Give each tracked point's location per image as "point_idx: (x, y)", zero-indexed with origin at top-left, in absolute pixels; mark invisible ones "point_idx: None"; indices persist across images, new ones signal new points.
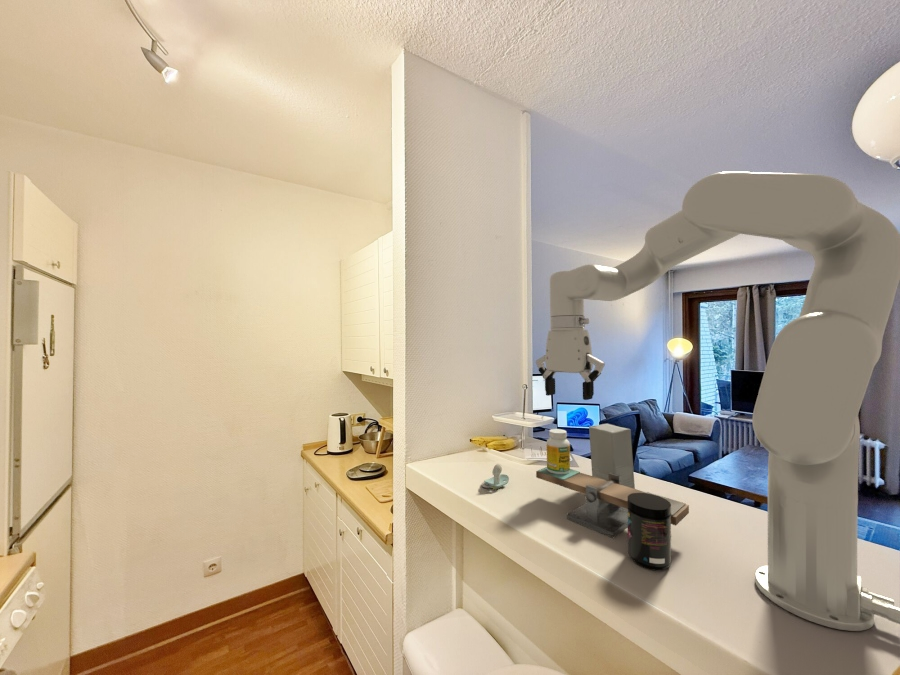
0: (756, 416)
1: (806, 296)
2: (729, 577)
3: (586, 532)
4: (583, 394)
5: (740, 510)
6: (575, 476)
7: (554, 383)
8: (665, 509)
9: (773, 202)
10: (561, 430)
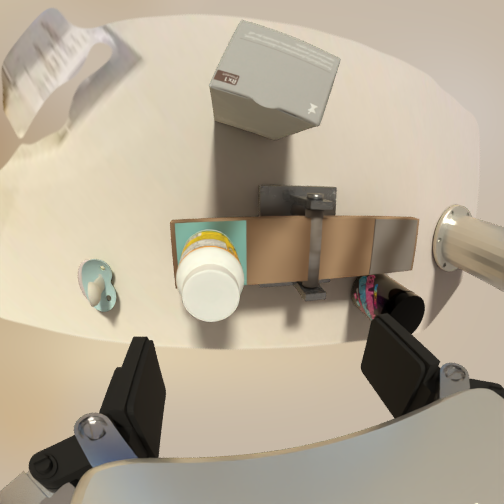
0: None
1: None
2: (419, 254)
3: (296, 293)
4: (373, 384)
5: (405, 76)
6: (251, 248)
7: (141, 390)
8: (419, 322)
9: None
10: (215, 284)
